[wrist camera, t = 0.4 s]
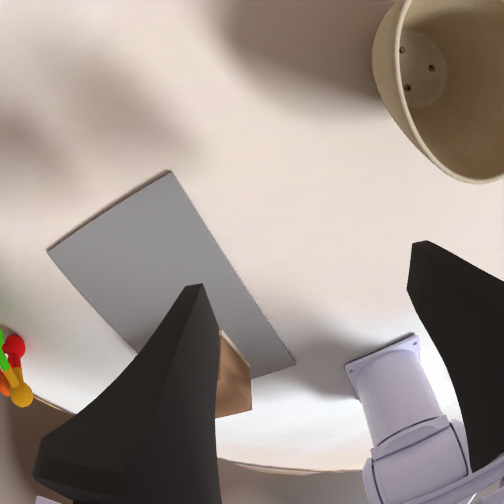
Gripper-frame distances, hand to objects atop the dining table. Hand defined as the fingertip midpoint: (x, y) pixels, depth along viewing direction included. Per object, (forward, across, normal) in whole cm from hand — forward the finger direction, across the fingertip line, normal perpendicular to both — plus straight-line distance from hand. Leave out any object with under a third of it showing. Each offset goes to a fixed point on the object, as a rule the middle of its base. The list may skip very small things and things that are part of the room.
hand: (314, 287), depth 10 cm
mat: (+10, +9, +9) cm, 16 cm away
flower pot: (+10, -9, -6) cm, 15 cm away
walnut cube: (+10, +8, +14) cm, 19 cm away
